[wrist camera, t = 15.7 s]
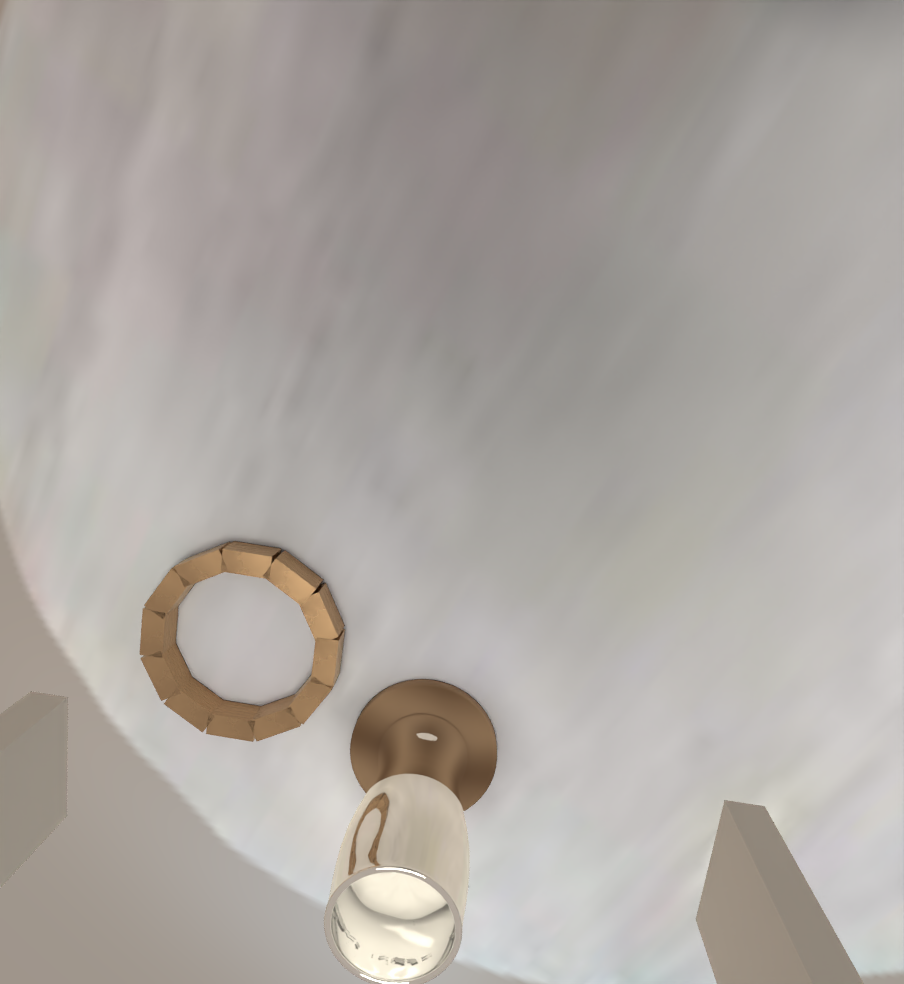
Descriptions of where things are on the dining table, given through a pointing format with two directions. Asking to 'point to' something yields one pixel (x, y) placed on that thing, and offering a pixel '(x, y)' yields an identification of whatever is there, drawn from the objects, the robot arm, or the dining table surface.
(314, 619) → the ring
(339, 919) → the beer glass
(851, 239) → the dining table surface
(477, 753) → the walnut coaster
